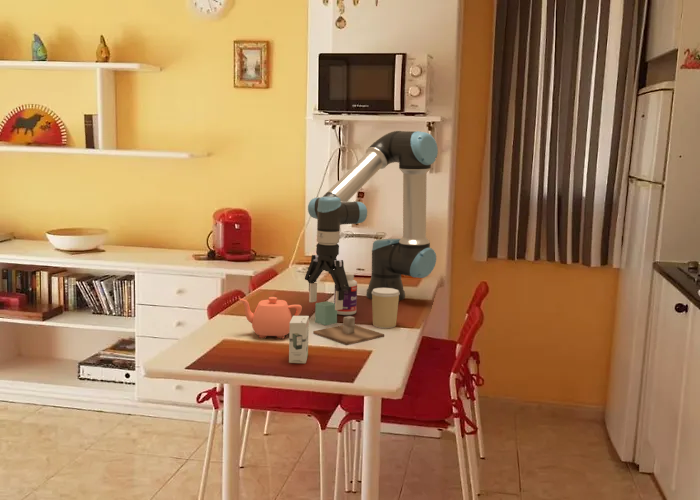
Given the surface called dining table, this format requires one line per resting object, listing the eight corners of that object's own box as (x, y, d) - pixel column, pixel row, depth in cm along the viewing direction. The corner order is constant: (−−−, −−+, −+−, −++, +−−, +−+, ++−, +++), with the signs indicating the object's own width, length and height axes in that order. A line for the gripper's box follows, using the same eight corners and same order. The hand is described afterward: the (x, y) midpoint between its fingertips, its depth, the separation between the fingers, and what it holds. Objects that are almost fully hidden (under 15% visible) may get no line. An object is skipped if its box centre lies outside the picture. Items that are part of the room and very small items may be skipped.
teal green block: (326, 319, 259) (327, 301, 258) (336, 323, 256) (337, 304, 255) (315, 322, 256) (315, 303, 255) (324, 325, 252) (325, 306, 251)
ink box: (291, 353, 220) (292, 314, 218) (308, 354, 220) (309, 315, 218) (288, 363, 211) (288, 322, 210) (305, 363, 211) (306, 322, 209)
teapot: (240, 328, 246) (241, 291, 244) (302, 329, 246) (303, 293, 244) (235, 340, 232) (235, 301, 230) (300, 341, 233) (301, 303, 231)
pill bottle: (353, 316, 265) (355, 276, 262) (331, 315, 266) (332, 275, 264) (358, 311, 273) (359, 272, 270) (336, 309, 274) (337, 270, 272)
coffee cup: (401, 323, 258) (402, 289, 256) (393, 330, 249) (395, 294, 247) (375, 320, 261) (376, 286, 259) (366, 326, 252) (368, 291, 250)
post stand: (350, 325, 253) (350, 309, 252) (383, 336, 241) (384, 318, 240) (313, 333, 242) (313, 315, 241) (346, 345, 230) (346, 326, 229)
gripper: (295, 239, 258) (294, 299, 261) (344, 249, 240) (341, 314, 243) (313, 237, 263) (310, 297, 266) (361, 247, 245) (358, 311, 248)
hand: (325, 305), depth 255 cm, fingers open, 13 cm apart
